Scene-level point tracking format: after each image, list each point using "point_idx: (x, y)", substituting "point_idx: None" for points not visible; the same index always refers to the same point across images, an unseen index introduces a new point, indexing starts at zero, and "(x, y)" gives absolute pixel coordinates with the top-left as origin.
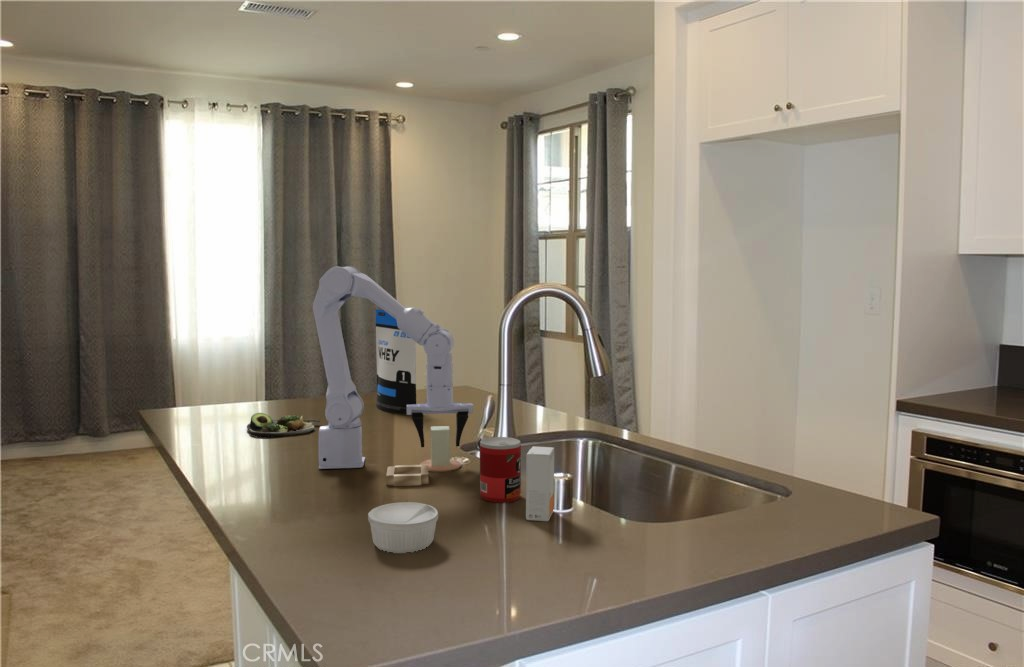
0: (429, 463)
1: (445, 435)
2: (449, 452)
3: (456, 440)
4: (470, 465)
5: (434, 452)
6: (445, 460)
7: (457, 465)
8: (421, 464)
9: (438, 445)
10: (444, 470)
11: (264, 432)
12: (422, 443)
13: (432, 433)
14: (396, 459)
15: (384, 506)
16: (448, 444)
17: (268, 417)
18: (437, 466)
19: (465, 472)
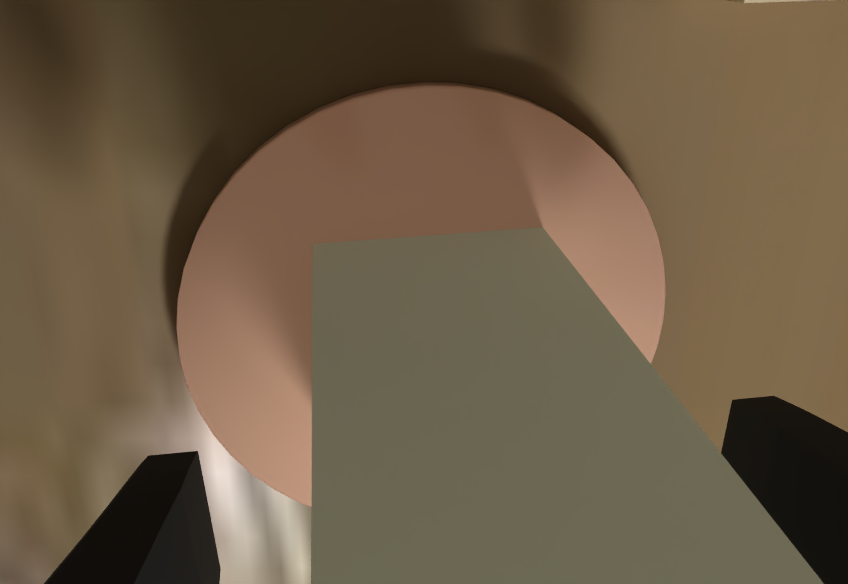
0: None
1: (414, 526)
2: (315, 327)
3: (168, 510)
4: (64, 354)
5: (557, 310)
6: (372, 270)
7: (210, 251)
8: (649, 306)
9: (522, 379)
10: (377, 90)
11: None
12: (804, 421)
13: (749, 538)
14: None
15: None
16: (334, 402)
17: None
18: (469, 217)
19: (74, 23)
